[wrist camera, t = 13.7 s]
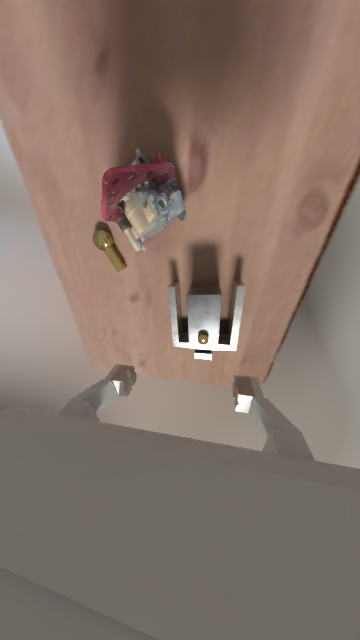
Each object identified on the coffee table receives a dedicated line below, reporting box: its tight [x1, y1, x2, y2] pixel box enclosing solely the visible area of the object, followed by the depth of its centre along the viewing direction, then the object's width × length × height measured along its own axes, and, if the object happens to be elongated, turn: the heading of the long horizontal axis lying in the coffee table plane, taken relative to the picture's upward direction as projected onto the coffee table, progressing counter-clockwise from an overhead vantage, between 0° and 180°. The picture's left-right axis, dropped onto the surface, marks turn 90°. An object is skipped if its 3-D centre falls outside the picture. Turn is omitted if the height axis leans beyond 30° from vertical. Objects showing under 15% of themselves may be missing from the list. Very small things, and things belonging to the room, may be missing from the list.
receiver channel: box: [168, 280, 246, 360], centre depth 26 cm, size 13×12×7 cm
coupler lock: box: [187, 283, 222, 350], centre depth 26 cm, size 10×5×8 cm, turn 3°
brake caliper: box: [101, 148, 186, 252], centre depth 20 cm, size 11×11×12 cm
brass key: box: [93, 230, 127, 272], centre depth 27 cm, size 7×3×2 cm, turn 28°
